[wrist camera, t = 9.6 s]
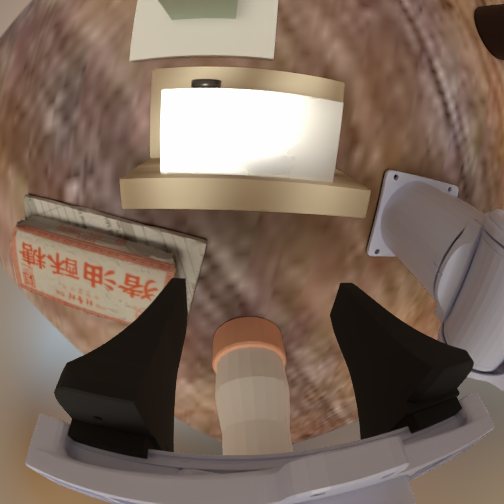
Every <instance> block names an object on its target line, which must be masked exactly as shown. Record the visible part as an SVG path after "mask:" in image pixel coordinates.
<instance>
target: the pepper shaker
mask: <svg viewBox="0 0 504 504" xmlns="http://www.w3.org/2000/svg"><path fill="white" fill-rule="evenodd" d="M285 365H286V355H285V350H284V346H283V341H282V336H281V332H280V330H279V329H278V327H277V326H276V325H275V324H273V323H272V322H270V321H269V320H266V319H262V318H259V317H241V318H235V319H233V320H230V321H228V322H226V323H224V324H223V325H222V326H220V327H219V328H218V329H217V331H216V333H215V334H214V338H213V362H212V367H213V369H214V371H215V373H216V389H215V400H216V405H217V411H218V416H219V421H220V426H221V431H222V444H223V455H261V454H276V453H287V452H293V449H292V443H291V437H290V430H289V387H288V383H287V378H286V374H285V370H284V367H285Z"/></svg>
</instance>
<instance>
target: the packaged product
mask: <svg viewBox="0 0 504 504" xmlns="http://www.w3.org/2000/svg"><path fill="white" fill-rule="evenodd" d="M24 199H25V219H26V220H25V221H24V220H21V221H19V222H17V225H16V227H15V228H14V229H13V232H12V239H11V243H10V248H11V249H12V257H13V266H14V272H15V276H16V281H17V284H18V286H21V287H23V288H25V289H27V290H30V291H31V292H34V293H36V294H38V295H41V296H44V297H46V298H49V299H52V300H53V301H57V302H59V303H62V304H64V305H68V306H70V307H73V308H75V309H79V310H83V311H84V312H87V313H90V314H94V315H97V316H100V317H103V318H107V319H112V320H114V321H117V322H120V323H124V324H127V325H130V324H131V323H132V322H133V321H134V320H136V319H137V318H138V317H139V316H140V315H141V313H142V312H143V311H144V310H145V309H146V308H147V307H148V306H149V305H150V304H151V303H152V302H153V300H154V299H155V298H156V297H157V296H158V295H159V293H160V292H161V291H162V290H163V288H164V287H165V286H166V285H167V283H168V282H169V281H170V279H172V278H186V292H187V308H188V316H189V311H190V306H191V302H192V299H193V295H194V292H195V289H196V285H197V281H198V278H199V274H200V270H201V266H202V263H203V258H204V253H205V248H206V244H207V243H206V240H204V239H201V238H197V237H194V236H191V235H187V234H184V233H179V232H175V231H171V230H167V229H162V228H158V227H153V226H148V225H145V224H141V223H138V222H134V221H131V220H127V219H124V218H120V217H116V216H112V215H108V214H105V213H102V212H99V211H97V210H93V209H88V208H85V207H79V206H72V205H68V204H65V203H61V202H58V201H54V200H50V199H46V198H41V197H37V196H31V195H25V196H24ZM187 320H188V317H187Z"/></svg>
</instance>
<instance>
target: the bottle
mask: <svg viewBox="0 0 504 504" xmlns="http://www.w3.org/2000/svg"><path fill="white" fill-rule="evenodd" d="M475 19H476V25H477V28H478V31H479V33H480V35H481V38H482V40H483V42H484V43H485V45H486V46H487V48H488V49H489V50H490V51H491V53H492V54H493V55H494V56H496V57H497V58H498V59H501V60H504V4H499V5H490V6H482V7H478V8H477V10H476V14H475Z"/></svg>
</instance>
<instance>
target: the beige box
mask: <svg viewBox="0 0 504 504" xmlns="http://www.w3.org/2000/svg"><path fill="white" fill-rule="evenodd" d="M195 79H217V80H221V88H225V89H246V90H260V91H271V92H280V93H288V94H296V95H303V96H309V97H315V98H321V99H326V100H332V101H337V102H341V103H343V95H344V85H345V83H344V82H339V81H335V80H330V79H325V78H320V77H315V76H309V75H304V74H297V73H290V72H283V71H274V70H265V69H253V68H238V67H178V68H162V69H153V72H152V88H151V111H150V159H148V160H147V161H145V162H144V163H142V164H141V165H139V166H138V167H136V168H135V169H133V170H132V171H130V172H129V173H128V174H126V175H125V176H123V177H122V178H121V179H120V191H121V202H122V209H212V210H243V211H267V212H286V213H303V214H318V215H332V216H345V217H357V218H365V216H366V212H367V207H368V203H369V198H370V194H371V190H369V189H368V188H366V187H365V186H363V185H362V184H360V183H359V182H357V181H355V180H354V179H352V178H351V177H349V176H348V175H346V174H345V173H343V172H341V171H340V170H338V169H337V168H335V171H334V178H333V183H332V182H323V181H313V180H303V179H291V178H278V177H263V176H245V175H218V174H161V169H160V126H161V97H162V90H163V89H184V88H191V80H195Z"/></svg>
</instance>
